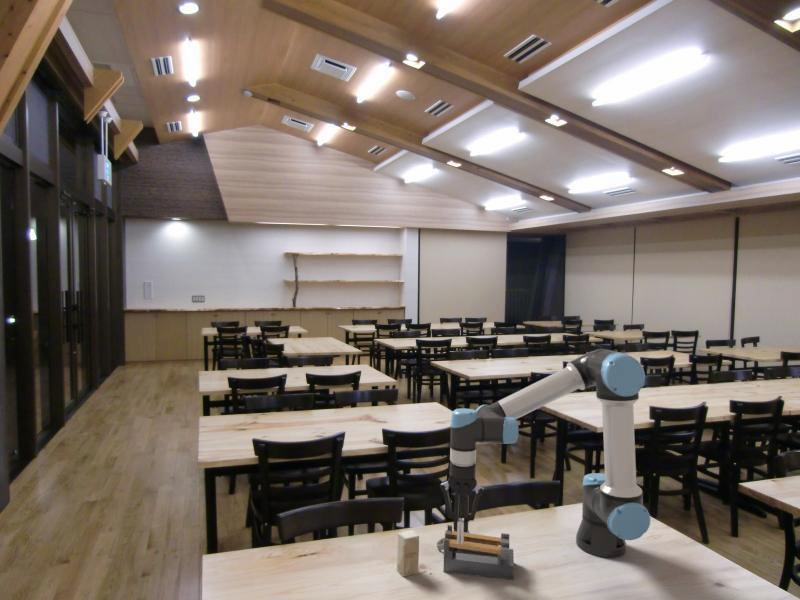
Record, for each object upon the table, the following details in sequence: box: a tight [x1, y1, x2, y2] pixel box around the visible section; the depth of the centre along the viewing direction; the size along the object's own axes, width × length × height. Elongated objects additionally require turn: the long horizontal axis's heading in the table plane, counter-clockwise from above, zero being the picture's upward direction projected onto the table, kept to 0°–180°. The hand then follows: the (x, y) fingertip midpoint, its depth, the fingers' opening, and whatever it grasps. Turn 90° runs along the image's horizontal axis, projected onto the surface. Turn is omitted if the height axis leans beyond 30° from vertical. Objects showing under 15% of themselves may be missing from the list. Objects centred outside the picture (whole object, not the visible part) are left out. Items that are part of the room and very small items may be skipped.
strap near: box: [443, 537, 508, 554], centre depth 154 cm, size 19×2×2 cm, turn 78°
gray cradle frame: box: [443, 532, 515, 581], centre depth 156 cm, size 20×10×9 cm, turn 79°
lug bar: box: [443, 524, 455, 559], centre depth 158 cm, size 2×10×5 cm, turn 169°
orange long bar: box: [444, 529, 508, 546], centre depth 159 cm, size 19×2×2 cm, turn 79°
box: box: [396, 529, 420, 577], centre depth 153 cm, size 5×4×11 cm
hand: (460, 541), depth 155 cm, fingers closed
